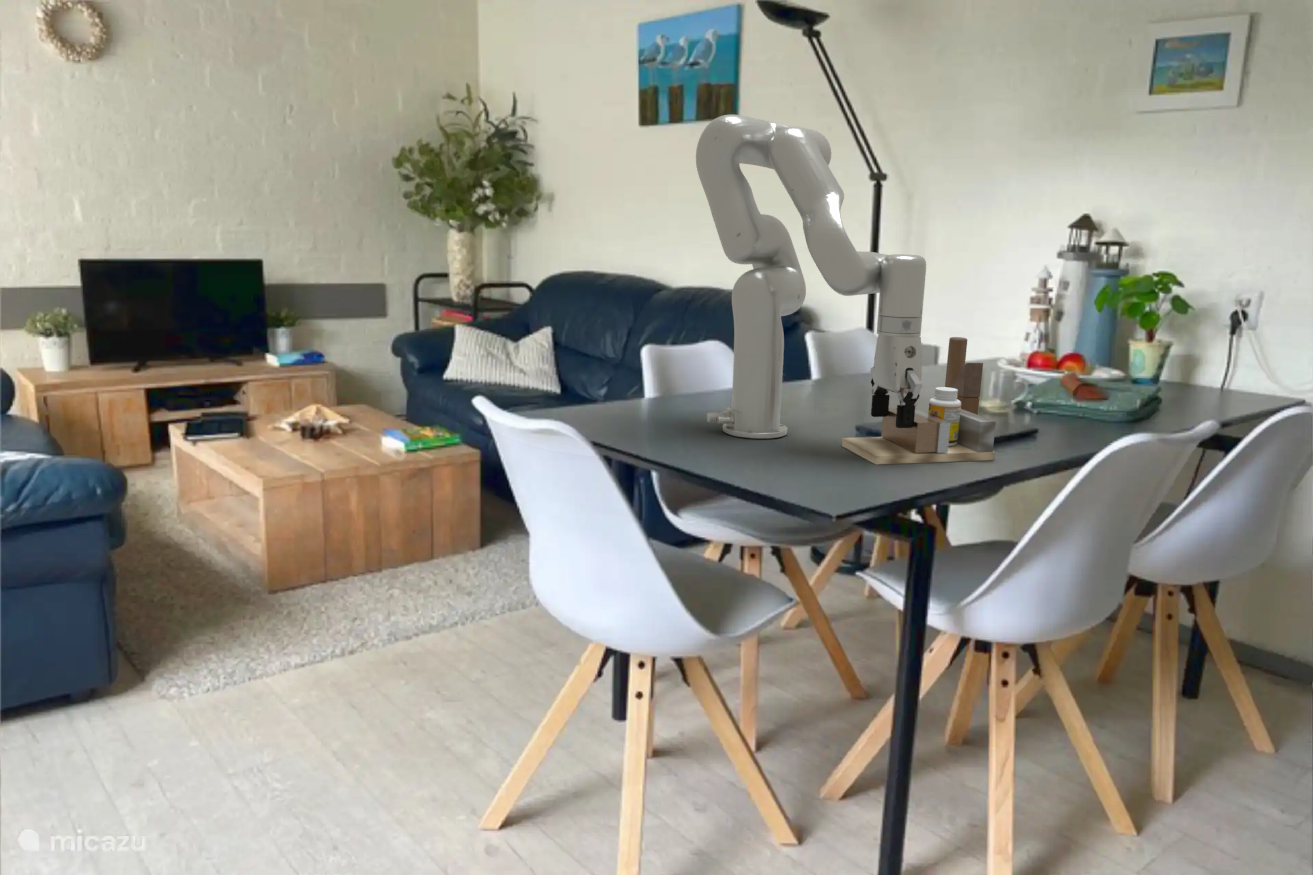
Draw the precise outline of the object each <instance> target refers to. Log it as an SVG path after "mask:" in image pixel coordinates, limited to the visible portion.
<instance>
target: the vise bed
mask: <svg viewBox="0 0 1313 875" xmlns="http://www.w3.org/2000/svg"><path fill="white" fill-rule="evenodd" d="M996 423H997V421H996V420H992V419H990V418H986V417H984V416H982V415H979V414H978V415H976V414H974V413H971V412H968V411H965V410H963V409H961V411H960V421H959V431H958V440H957V444H956V445H954V446H949V447H948V452H945V453H937V452H924V453H915V452H912V451H910V450H908V449H906V448H904V447H902V446H900V445H898V444H896V443H894V442H892V441H890V440H888V439H886V438H884V437H881V436H865V437H862V436H860V437H842V438H841V446H842V447H843V448H844V449H846V450H848V451H850V452H852V453H854V454H856V455H857V456H860V457H861V458H863V459H864V460H867V461H868V462H871V463H872V464H874V465H896V464H897V465H899V464H921V463H922V464H924V463H949V462H950V463H951V462H953V463H954V462H975V461H976V462H977V461H978V462H981V461H995V457H996V451H994V444H995V443H994V442H995V434H996V426H997V424H996Z"/></svg>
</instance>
